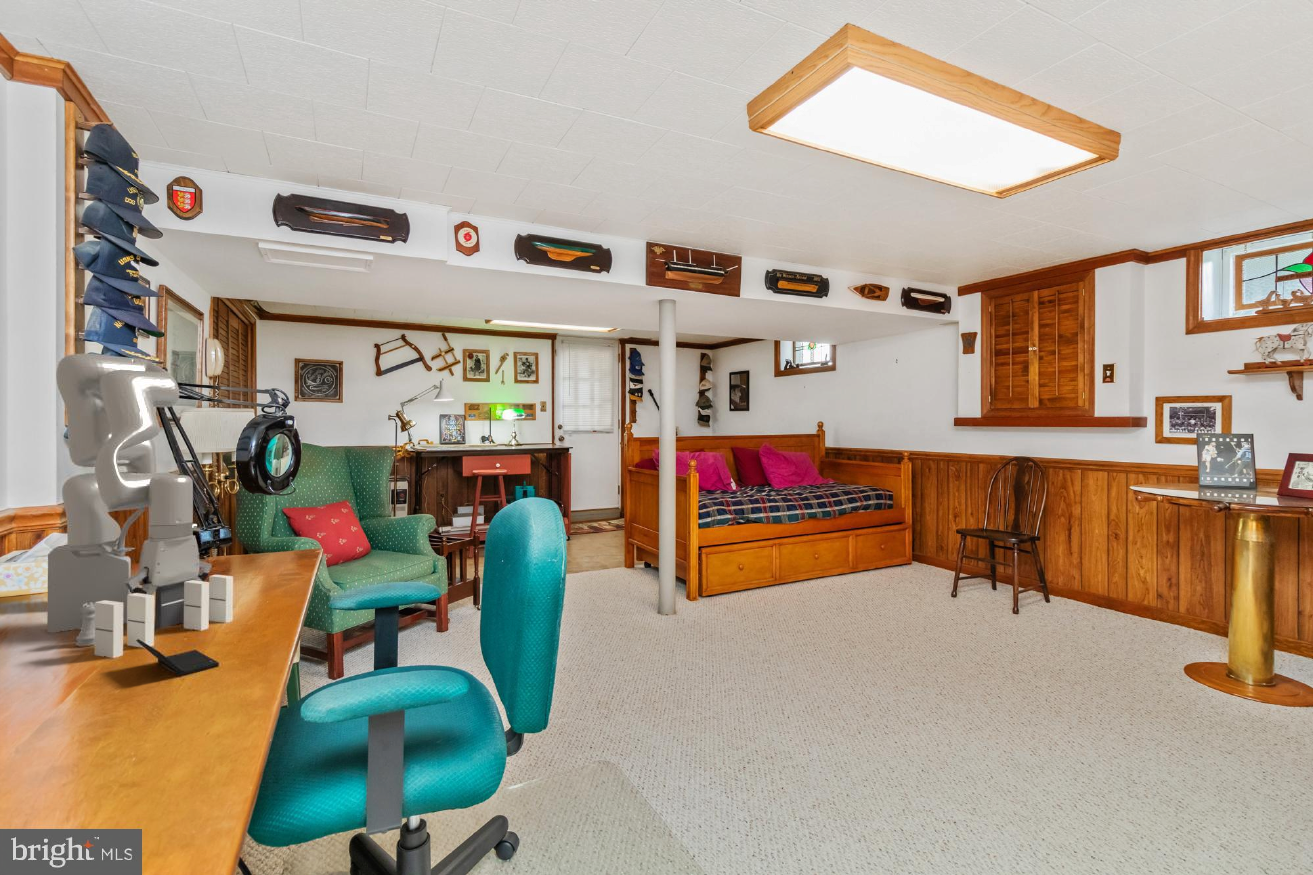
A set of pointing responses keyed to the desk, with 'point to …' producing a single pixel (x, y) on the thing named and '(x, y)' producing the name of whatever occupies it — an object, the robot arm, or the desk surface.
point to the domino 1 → (109, 628)
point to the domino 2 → (140, 619)
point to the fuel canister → (86, 579)
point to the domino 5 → (221, 598)
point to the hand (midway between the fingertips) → (170, 609)
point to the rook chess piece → (87, 626)
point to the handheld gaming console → (183, 661)
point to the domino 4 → (196, 605)
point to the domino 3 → (169, 605)
